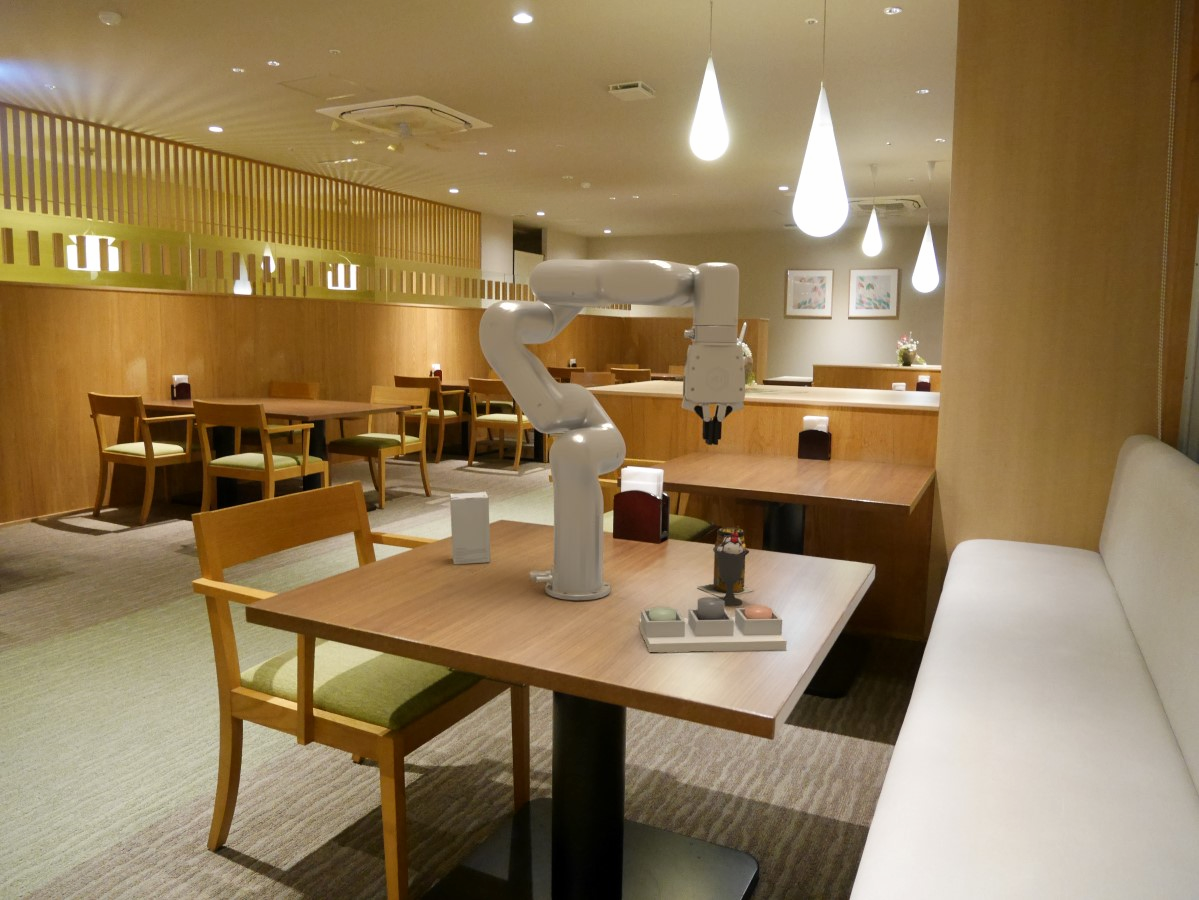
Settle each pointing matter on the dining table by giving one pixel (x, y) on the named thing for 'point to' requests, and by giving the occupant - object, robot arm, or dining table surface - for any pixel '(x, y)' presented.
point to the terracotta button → (758, 612)
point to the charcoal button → (710, 608)
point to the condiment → (719, 586)
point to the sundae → (731, 565)
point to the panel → (712, 633)
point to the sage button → (662, 614)
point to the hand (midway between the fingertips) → (711, 443)
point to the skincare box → (470, 528)
